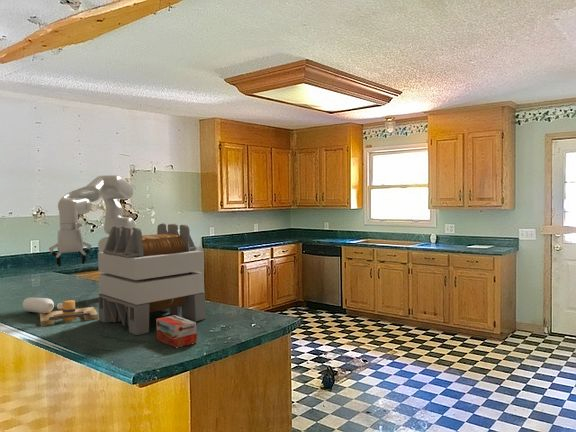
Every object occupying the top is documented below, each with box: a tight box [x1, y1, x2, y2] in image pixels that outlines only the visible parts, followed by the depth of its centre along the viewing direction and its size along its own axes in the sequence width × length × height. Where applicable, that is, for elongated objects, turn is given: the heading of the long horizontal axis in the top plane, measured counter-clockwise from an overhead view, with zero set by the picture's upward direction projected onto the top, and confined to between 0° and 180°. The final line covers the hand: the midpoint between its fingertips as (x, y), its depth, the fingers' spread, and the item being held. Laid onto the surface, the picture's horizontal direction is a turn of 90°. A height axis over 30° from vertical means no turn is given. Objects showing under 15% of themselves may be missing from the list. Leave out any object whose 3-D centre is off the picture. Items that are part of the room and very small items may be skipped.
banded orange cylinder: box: [62, 299, 77, 322], centre depth 205 cm, size 5×5×8 cm
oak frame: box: [39, 306, 99, 327], centre depth 208 cm, size 22×16×3 cm
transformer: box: [97, 222, 207, 336], centre depth 203 cm, size 34×33×41 cm
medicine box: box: [155, 314, 198, 348], centre depth 172 cm, size 15×8×8 cm, turn 44°
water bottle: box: [21, 296, 63, 314], centre depth 214 cm, size 9×6×25 cm
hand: (71, 264), depth 213 cm, fingers open, 9 cm apart
